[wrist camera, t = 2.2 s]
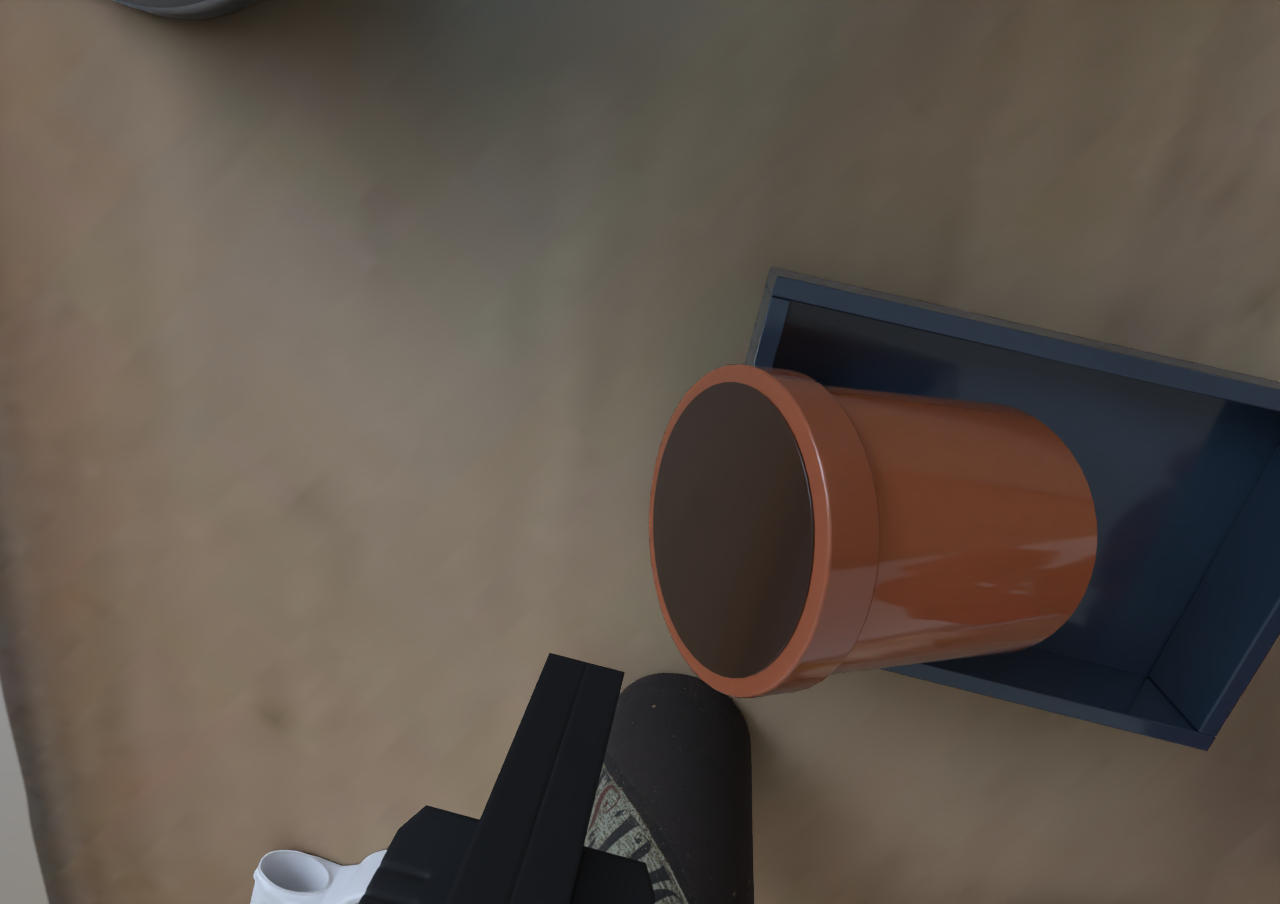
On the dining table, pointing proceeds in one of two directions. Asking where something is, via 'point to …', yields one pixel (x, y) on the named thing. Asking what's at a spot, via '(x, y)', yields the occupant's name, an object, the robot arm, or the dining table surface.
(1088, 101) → the dining table surface
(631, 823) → the container
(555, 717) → the robot arm
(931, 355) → the tray
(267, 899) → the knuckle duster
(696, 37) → the dining table surface
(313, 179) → the dining table surface
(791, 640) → the flower pot
